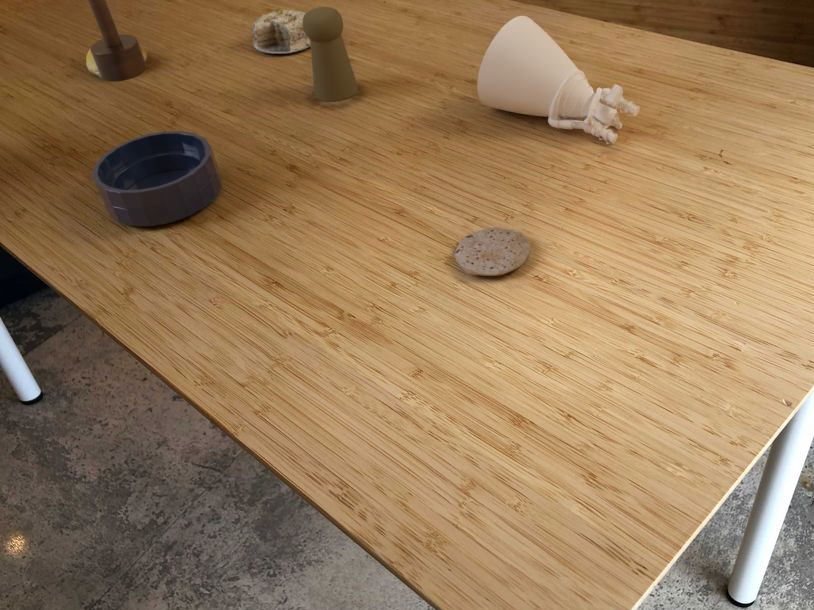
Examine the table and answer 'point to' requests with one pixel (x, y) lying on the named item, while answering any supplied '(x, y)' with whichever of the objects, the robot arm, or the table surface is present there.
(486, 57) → the rocket engine
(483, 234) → the flatbread
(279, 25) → the cake
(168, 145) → the bowl
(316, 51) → the olive game pawn
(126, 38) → the brown pestle
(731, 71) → the table surface
